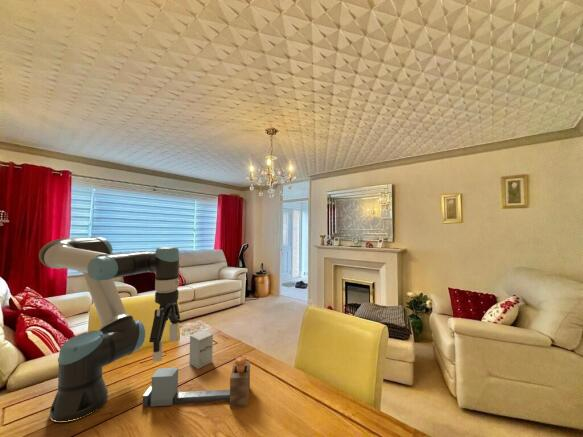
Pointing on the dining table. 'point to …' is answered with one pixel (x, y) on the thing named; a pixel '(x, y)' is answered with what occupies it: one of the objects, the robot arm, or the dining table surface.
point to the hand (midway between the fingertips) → (166, 350)
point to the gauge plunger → (240, 364)
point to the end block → (239, 386)
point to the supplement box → (201, 349)
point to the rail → (192, 396)
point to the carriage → (164, 386)
